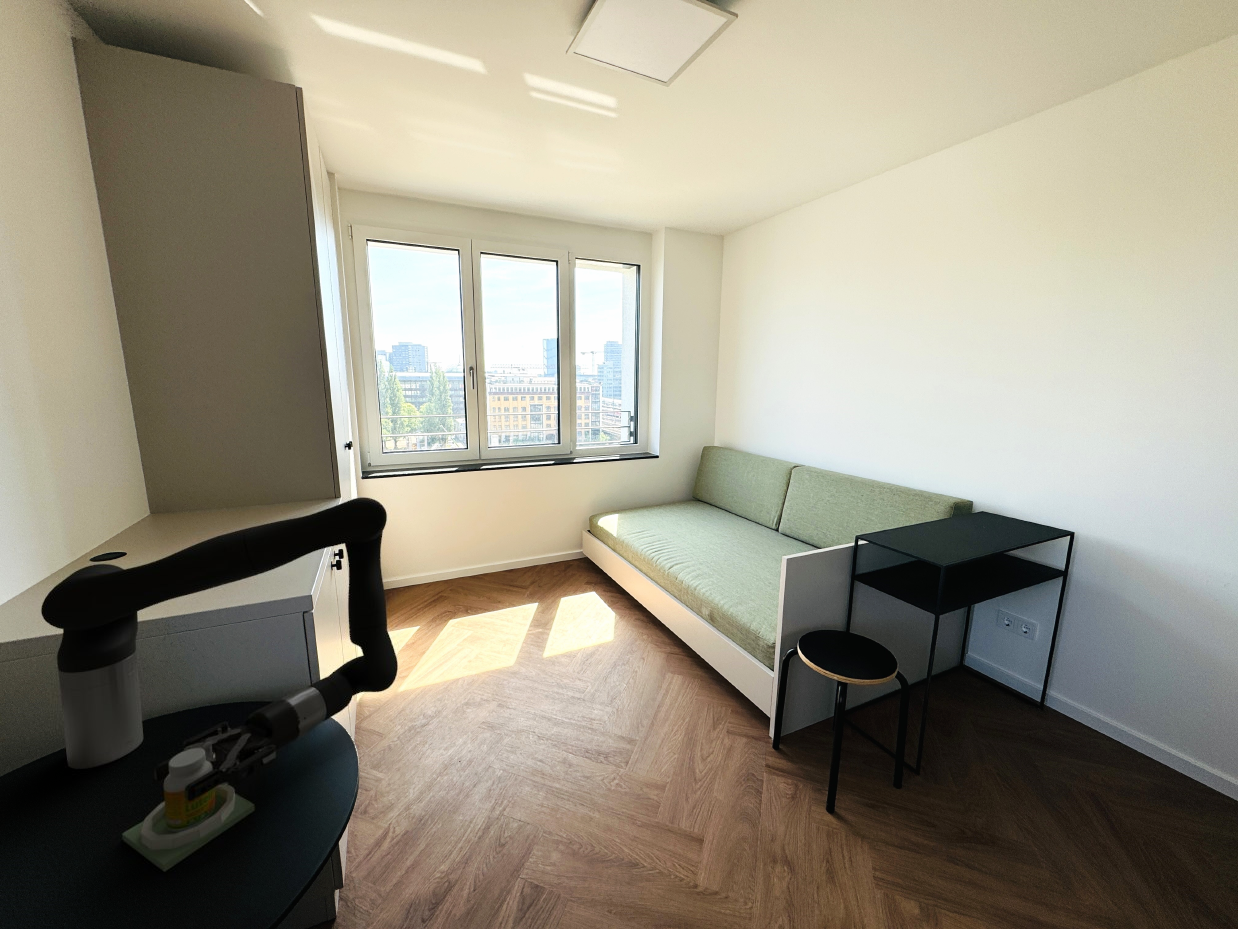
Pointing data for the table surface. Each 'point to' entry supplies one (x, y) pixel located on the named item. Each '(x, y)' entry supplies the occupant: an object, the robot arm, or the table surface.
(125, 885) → the table surface
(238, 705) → the table surface
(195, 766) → the supplement bottle
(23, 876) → the table surface
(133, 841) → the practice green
